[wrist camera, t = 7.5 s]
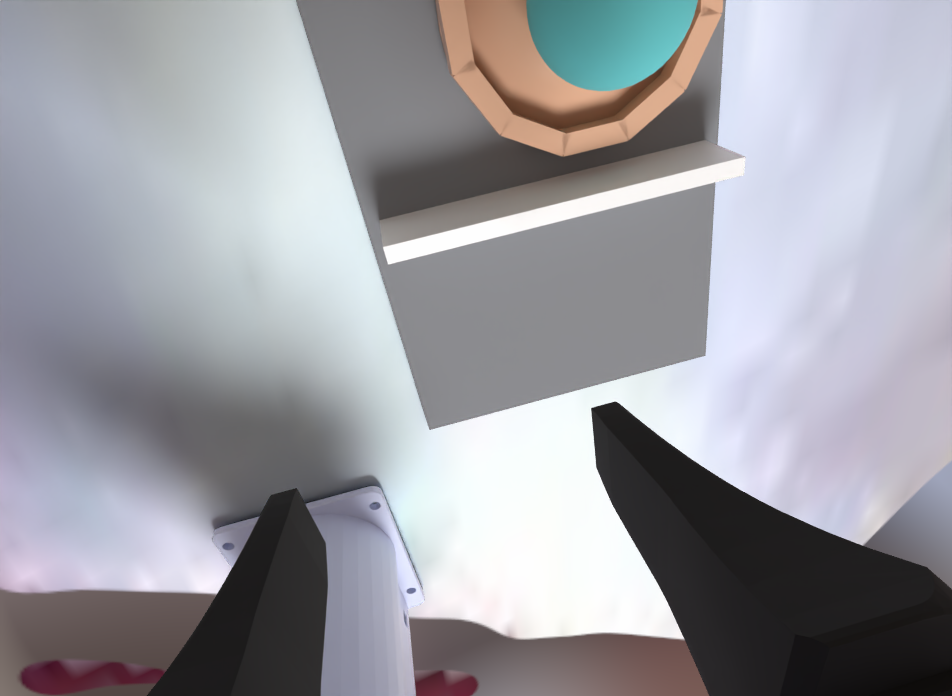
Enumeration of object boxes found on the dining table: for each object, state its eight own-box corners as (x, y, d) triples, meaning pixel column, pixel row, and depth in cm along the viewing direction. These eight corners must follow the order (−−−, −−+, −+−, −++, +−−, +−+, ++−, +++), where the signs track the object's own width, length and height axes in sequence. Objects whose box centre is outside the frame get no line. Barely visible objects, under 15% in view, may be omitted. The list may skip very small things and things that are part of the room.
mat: (700, 351, 26) (705, 355, 26) (428, 424, 25) (429, 429, 25) (729, -208, 15) (738, -212, 15) (263, -110, 15) (261, -112, 14)
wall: (703, 156, 20) (743, 174, 18) (384, 236, 20) (387, 264, 18) (704, 140, 20) (745, 156, 18) (379, 220, 19) (382, 247, 17)
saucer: (697, 112, 20) (716, 119, 19) (465, 169, 19) (471, 179, 18) (710, -217, 15) (736, -232, 14) (403, -153, 14) (407, -164, 13)
